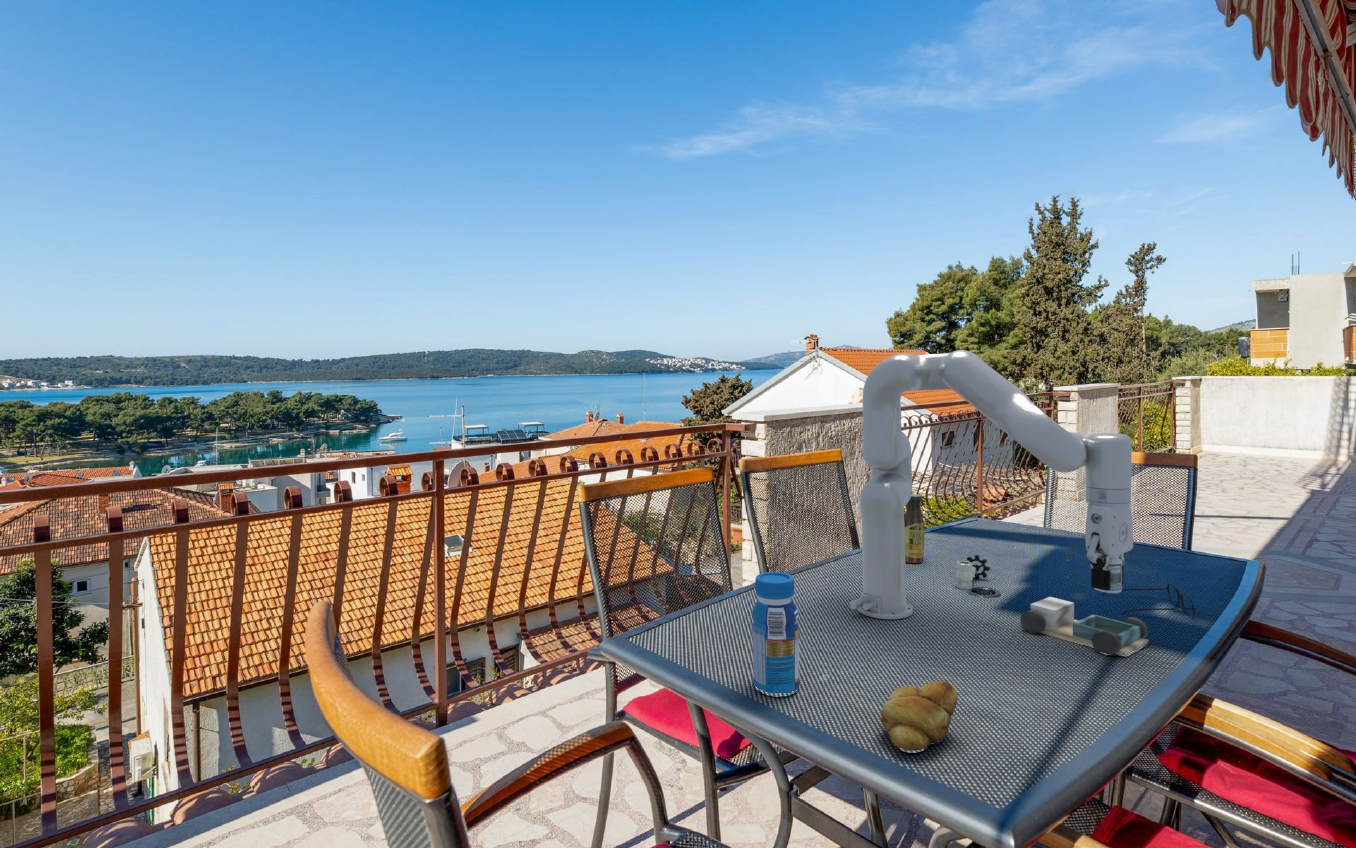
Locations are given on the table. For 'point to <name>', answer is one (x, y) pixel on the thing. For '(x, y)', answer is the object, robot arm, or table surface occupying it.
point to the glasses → (1170, 598)
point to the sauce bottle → (914, 531)
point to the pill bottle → (1113, 574)
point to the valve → (969, 572)
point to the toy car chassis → (1084, 627)
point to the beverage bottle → (775, 634)
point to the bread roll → (919, 714)
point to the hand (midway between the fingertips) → (1107, 585)
